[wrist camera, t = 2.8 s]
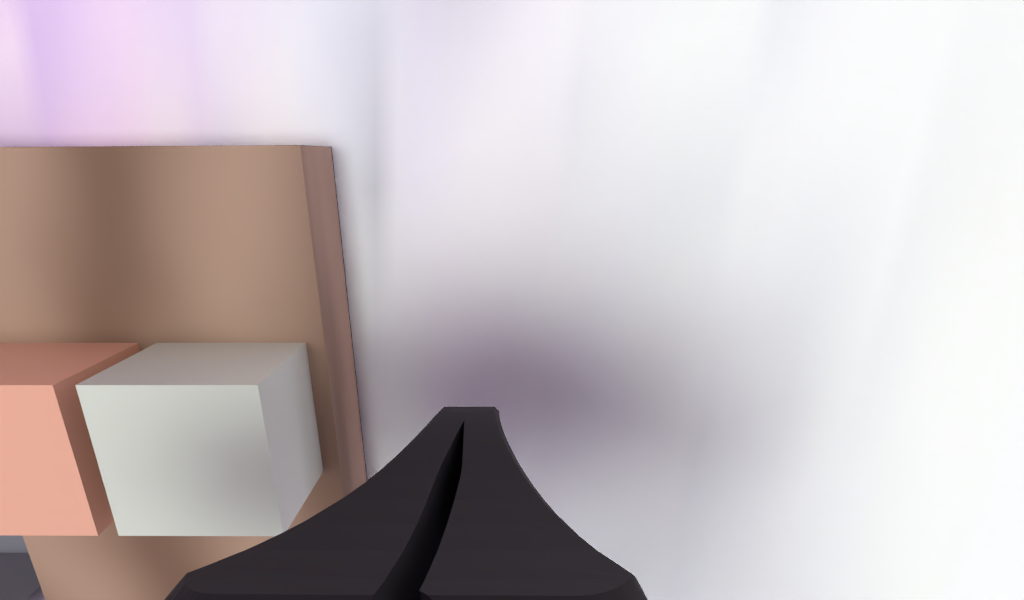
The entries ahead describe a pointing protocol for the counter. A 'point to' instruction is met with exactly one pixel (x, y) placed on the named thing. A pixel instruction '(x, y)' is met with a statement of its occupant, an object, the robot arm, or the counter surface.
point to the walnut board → (179, 303)
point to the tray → (17, 571)
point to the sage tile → (205, 438)
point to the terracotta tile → (51, 439)
